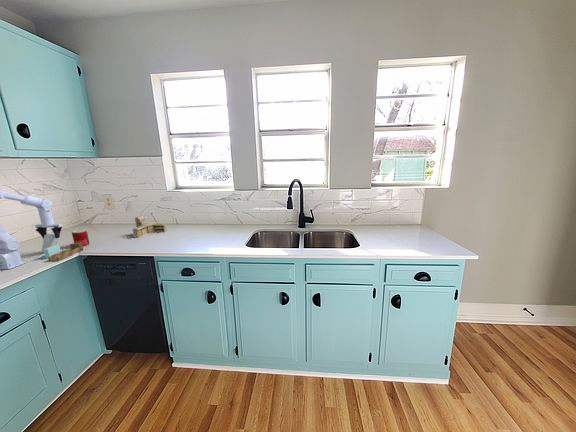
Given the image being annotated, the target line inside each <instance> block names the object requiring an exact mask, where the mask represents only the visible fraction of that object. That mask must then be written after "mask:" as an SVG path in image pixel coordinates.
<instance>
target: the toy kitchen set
mask: <svg viewBox="0 0 576 432" xmlns="http://www.w3.org/2000/svg"><path fill="white" fill-rule="evenodd" d="M134 221H135V227H134V228H132V234H133V238H134V239H139V238H142V237H143V236H146V235H147V234H153V233H167V232H168V228H167V223H166V222H147V221H146V219H145V217H144V216H142V215H138V216H134ZM144 222H147V223H144ZM143 223H144V224H143Z"/></svg>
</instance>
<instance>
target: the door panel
mask: <svg viewBox="0 0 576 432" xmlns="http://www.w3.org/2000/svg"><path fill="white" fill-rule="evenodd" d="M61 251H62V250H61V247H60V244H57V245H54V246H52V247H49V248H46V249H44V251H43V253H44V257H45V259H47V260H49V259H48V257H49V256H52V255H54V254H57V253H59V252H61Z"/></svg>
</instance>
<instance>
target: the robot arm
mask: <svg viewBox="0 0 576 432" xmlns="http://www.w3.org/2000/svg"><path fill="white" fill-rule="evenodd" d="M0 199H5V200H6V199H7V200H11V201H16V202H20V204H22V205H25V206H30V207H35V208H36V209H37V212H38V215H39V219H40V223H39V224H35V225H34V227H35V231H36V232H37V233H38V234H39V235H40V236H41V238H42V239H43V240H44V235H46V234H48V232H47V230H48V228H51V229H50V230H51V232H54V235H55V238H58V239H59V238H60V235H61V231H62V229H63V225H62V223H55V221H54V217H53V212H52V206H53V202H52V201H51V200H50V199H48V198H42V197H41V196H33V195H32V194H24V195H20V194H16V193H12V192H8V191H4V190H0ZM20 247H21V242H20V241H19V240H18V239H16V238H14V236H12V235H10V234H9V233H7V231H6V229H4V227H3V226H2V224H1V223H0V270H11V269H14V268H17V267H19V266H22V265H24V264H26V263H28V261H23V259H22V256H21V253H20V249H19V248H20Z"/></svg>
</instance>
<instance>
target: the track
mask: <svg viewBox="0 0 576 432" xmlns="http://www.w3.org/2000/svg"><path fill="white" fill-rule="evenodd" d="M83 251H84V247H82V243H74V242H73V243H70V244H69V248H67V249H64V250H61V252H59V253H57V254H54V255H52V256H49V257H48V259H47V260H48V262H50V263H51V262H60V261H63V260H65V259H67V258H69V257H71V256H74V255H76V254H78V253H81V252H83Z"/></svg>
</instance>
